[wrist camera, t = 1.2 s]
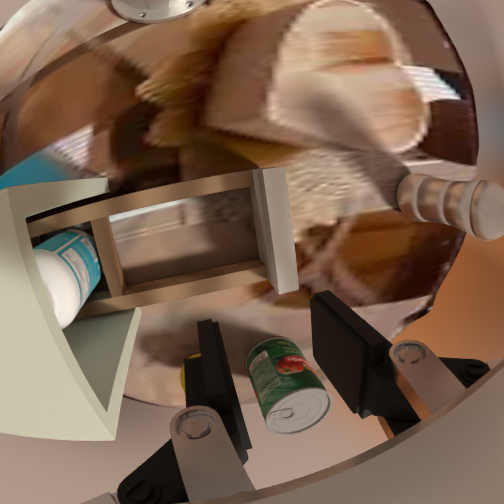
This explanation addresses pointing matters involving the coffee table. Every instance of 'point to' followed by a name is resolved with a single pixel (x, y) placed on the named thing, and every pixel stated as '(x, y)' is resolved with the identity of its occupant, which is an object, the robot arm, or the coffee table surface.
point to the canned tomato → (286, 387)
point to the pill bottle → (68, 271)
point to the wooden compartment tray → (196, 283)
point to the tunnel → (55, 334)
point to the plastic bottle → (454, 203)
